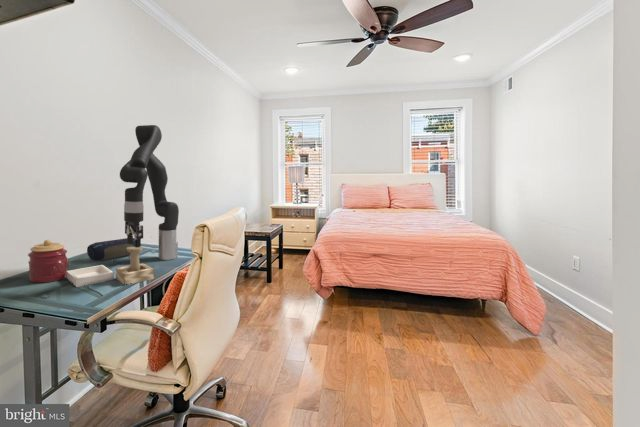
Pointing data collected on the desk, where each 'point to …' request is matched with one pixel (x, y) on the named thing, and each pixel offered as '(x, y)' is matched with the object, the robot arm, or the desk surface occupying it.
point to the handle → (134, 258)
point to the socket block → (134, 274)
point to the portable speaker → (109, 249)
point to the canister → (47, 262)
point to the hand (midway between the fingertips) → (133, 245)
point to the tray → (89, 275)
